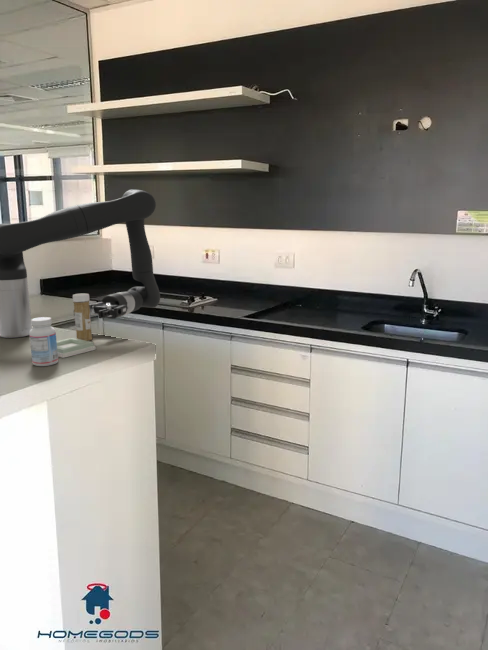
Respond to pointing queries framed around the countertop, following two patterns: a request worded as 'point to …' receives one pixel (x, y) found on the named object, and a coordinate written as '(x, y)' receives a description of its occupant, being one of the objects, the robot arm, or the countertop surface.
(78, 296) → the sprinkles bottle
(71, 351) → the socket plate
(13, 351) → the countertop surface
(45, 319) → the pill bottle
